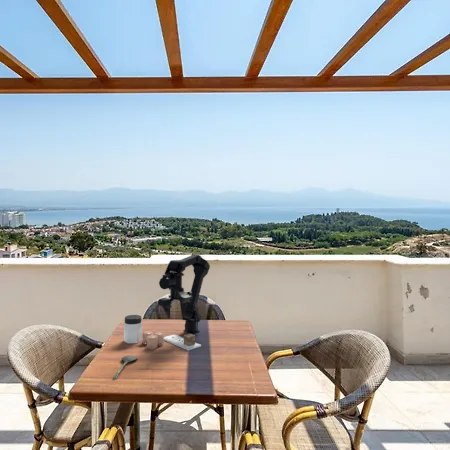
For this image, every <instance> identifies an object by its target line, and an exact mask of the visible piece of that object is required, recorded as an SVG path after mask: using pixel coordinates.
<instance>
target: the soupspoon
mask: <svg viewBox="0 0 450 450" xmlns="http://www.w3.org/2000/svg"><path fill="white" fill-rule="evenodd" d="M121 360H122V361H123V362H124V363H122V365H121V366H120V368H119V369H118V371H117V372H116V373H115V375H113V376H112V379H114V380H117V379H118V376H119V375H120V372H121V371H122V370H123V369H124V367H125V365H126V364H128V363H129V362H130V363H131V362H132V361H135V360H138V358H137V356H134V355H131V354H129V355H124V356H123V357H122V358H121Z"/></svg>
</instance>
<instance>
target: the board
mask: <svg viewBox="0 0 450 450" xmlns="http://www.w3.org/2000/svg"><path fill="white" fill-rule="evenodd" d="M164 342H166V343H170V344H172V345H175V346H177V347H179V348H182V349H184V350H186V351H191V350H194V349H199V348H202V344H200V343H197V342H195V344H193V345H190V346H188V345H185V344H184V337H182V336H180V335H177V334H176V333H175V334H170V335H167V336H164Z"/></svg>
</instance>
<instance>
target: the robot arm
mask: <svg viewBox="0 0 450 450" xmlns="http://www.w3.org/2000/svg"><path fill="white" fill-rule="evenodd" d="M190 266H192V267H193V274H194V278H193V282H192V285H191V289H190V291H185V289H184V287H183V276H185V273H183V272H184V271H186V268H187V267H188V268H189V267H190ZM210 268H211V265H210V263H209V262H208V261H207V259H205V258H203V257H202V256H201V255H200V254H194V253H193V254H191V255H189V256H187V257H184V258H182V259H173V260H170V261H169V263H168V264H167V267H166V269H165V272H164V274H162V277H161V278H160V279H159V282H158V285H159V287H160V288H161V289H162V290H169V291H170V294H169V295H168V297H163V298H159V299H158V300H157V305H158V306H160V307H162V309H163V311H164V313H165V315H166V317H167V319H170V318H171V308H172V306H173V305H172V303H175V302H179V303H180V312H181V317H182V320H183V321H185V323H184V330H183V332H184V333H186V334H192V335H194V334H196V333H200V330H199V329H198V327H199V322H200V321H201V319H202V315H201V314H200V313H199V306H198V301H199V297H200V293H201V290H202V285H203V281H204V278H205V277H206V276H207V275H208V273H209V270H210Z"/></svg>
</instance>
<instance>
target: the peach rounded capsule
mask: <svg viewBox="0 0 450 450" xmlns="http://www.w3.org/2000/svg"><path fill="white" fill-rule="evenodd" d="M153 335H156V336H157V337H158V347H159V346H163V345H164V344H165V340H164V337H165V333H164V332H160V331H158V332H153Z"/></svg>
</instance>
